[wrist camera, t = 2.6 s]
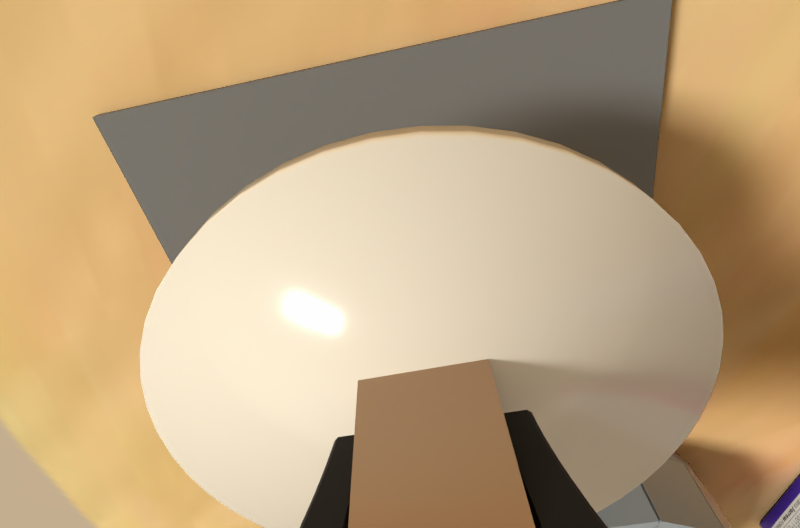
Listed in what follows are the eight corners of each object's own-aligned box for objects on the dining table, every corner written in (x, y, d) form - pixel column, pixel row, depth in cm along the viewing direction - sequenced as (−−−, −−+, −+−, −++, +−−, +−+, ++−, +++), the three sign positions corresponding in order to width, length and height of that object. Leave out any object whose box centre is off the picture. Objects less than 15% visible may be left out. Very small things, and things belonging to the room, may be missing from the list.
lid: (759, 52, 8) (1124, 119, 4) (669, 502, 16) (770, 684, 12) (28, 203, 9) (-246, 372, 5) (267, 557, 17) (230, 741, 13)
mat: (667, -11, 12) (673, -11, 12) (628, 404, 20) (631, 409, 20) (98, 114, 13) (92, 117, 13) (280, 456, 22) (278, 461, 21)
